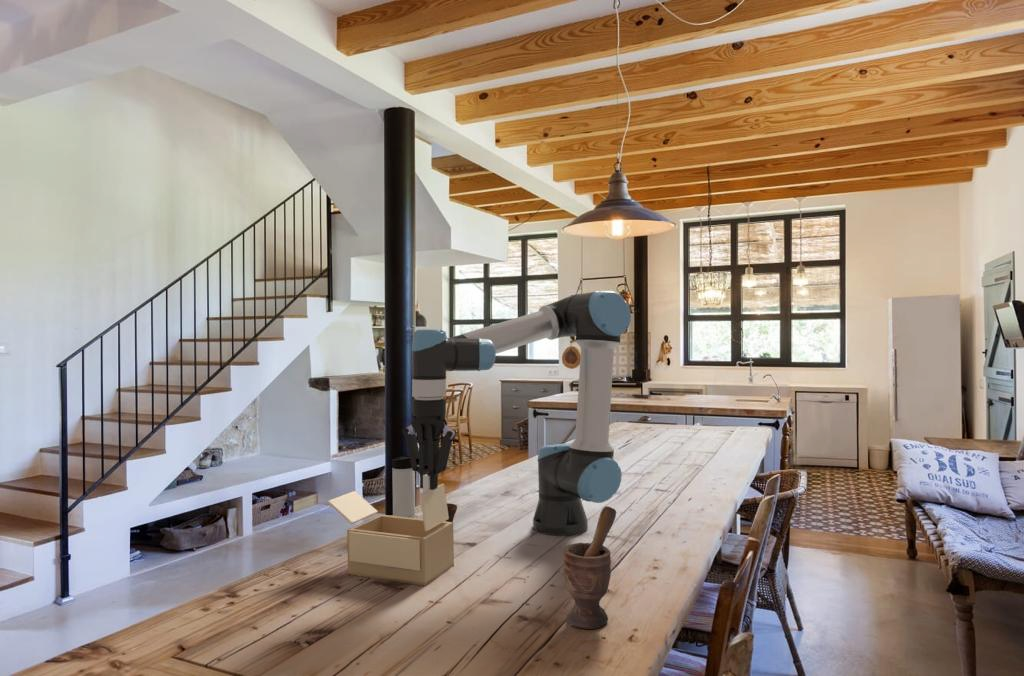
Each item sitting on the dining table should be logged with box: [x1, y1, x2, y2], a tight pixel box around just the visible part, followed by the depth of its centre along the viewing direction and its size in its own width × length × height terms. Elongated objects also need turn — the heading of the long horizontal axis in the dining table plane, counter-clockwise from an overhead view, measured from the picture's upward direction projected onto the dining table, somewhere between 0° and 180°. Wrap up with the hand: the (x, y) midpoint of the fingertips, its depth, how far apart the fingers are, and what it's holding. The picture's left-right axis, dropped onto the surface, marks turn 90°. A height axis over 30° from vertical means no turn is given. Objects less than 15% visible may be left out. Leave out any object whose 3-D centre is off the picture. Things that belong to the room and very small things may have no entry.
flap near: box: [419, 483, 449, 531], centre depth 139 cm, size 10×1×8 cm, turn 158°
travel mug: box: [391, 455, 416, 518], centre depth 177 cm, size 6×7×20 cm
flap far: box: [327, 490, 379, 525], centre depth 148 cm, size 10×1×8 cm
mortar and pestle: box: [562, 505, 617, 630], centre depth 117 cm, size 12×9×20 cm
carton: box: [346, 514, 455, 587], centre depth 143 cm, size 20×14×10 cm
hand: (428, 503), depth 140 cm, fingers closed
